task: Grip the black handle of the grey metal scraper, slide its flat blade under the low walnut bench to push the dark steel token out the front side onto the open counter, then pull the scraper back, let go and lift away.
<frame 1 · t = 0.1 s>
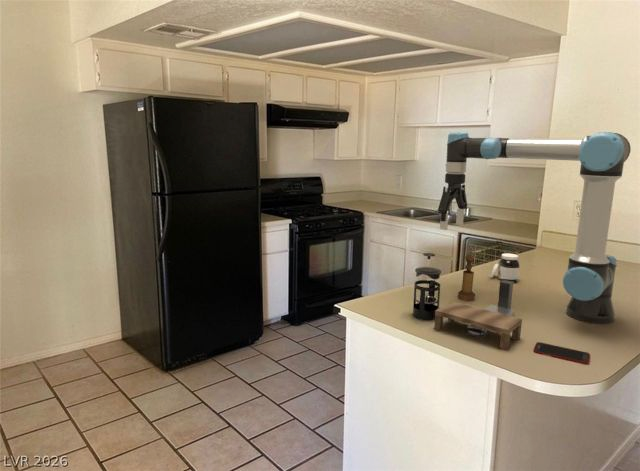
hand: (451, 227, 186), 28 cm above the counter, tool pointing down, fingers open, 13 cm apart
cell phone: (561, 355, 140), on the counter
spread jar: (502, 279, 213), on the counter
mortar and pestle: (466, 299, 187), on the counter
steel token: (476, 334, 154), on the counter
french press: (425, 315, 169), on the counter
low bench: (476, 333, 154), on the counter
scraper: (503, 313, 172), on the counter
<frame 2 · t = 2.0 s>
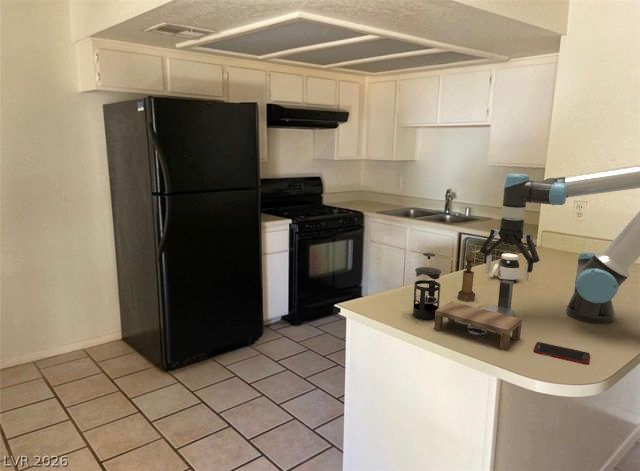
hand: (506, 276, 169), 14 cm above the counter, tool pointing down, fingers open, 13 cm apart
nothing on the counter moved.
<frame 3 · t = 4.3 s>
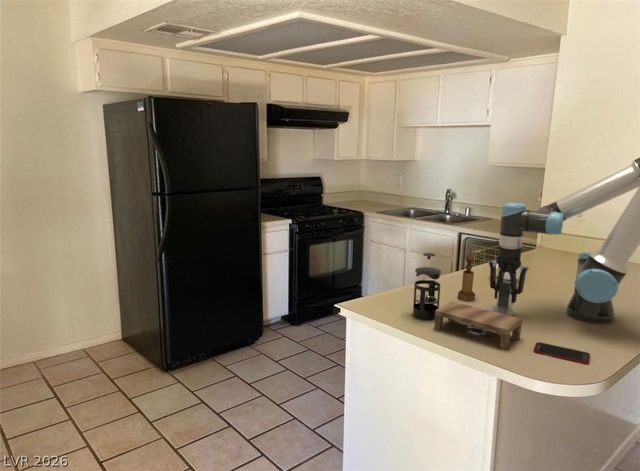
hand: (504, 309, 172), 2 cm above the counter, tool pointing down, fingers closed on scraper, 3 cm apart
scraper: (503, 313, 172), on the counter, touching gripper
everything else where it was.
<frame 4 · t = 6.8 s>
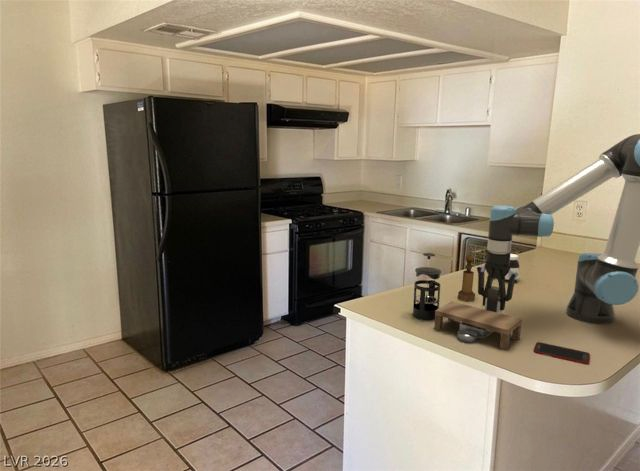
hand: (492, 316, 164), 2 cm above the counter, tool pointing down, fingers closed on scraper, 3 cm apart
steel token: (466, 339, 149), on the counter
scraper: (492, 320, 164), on the counter, touching gripper
everything else where it was.
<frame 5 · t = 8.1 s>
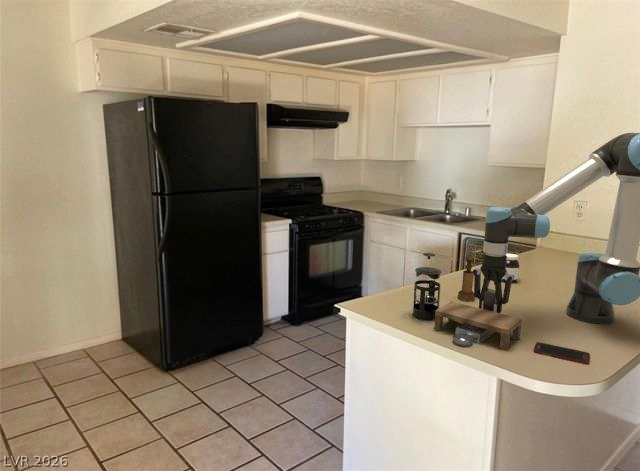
hand: (489, 319, 161), 2 cm above the counter, tool pointing down, fingers closed on scraper, 3 cm apart
steel token: (462, 343, 147), on the counter
scraper: (488, 324, 162), on the counter, touching gripper
everything else where it was.
when the fingers open (2 cm above the counter, at t = 10.3 s): scraper stays where it is, on the counter.
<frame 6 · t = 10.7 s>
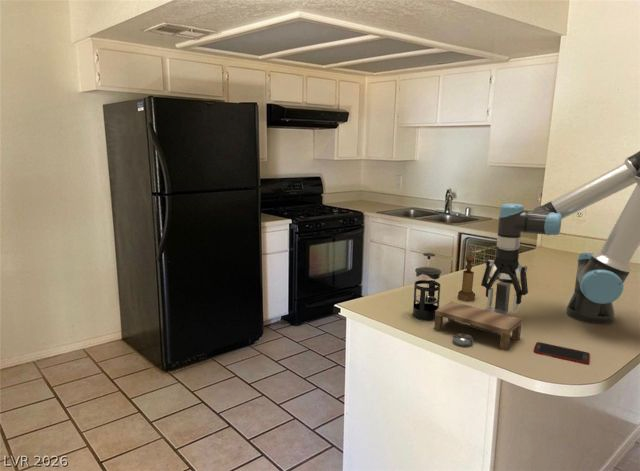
hand: (502, 308, 170), 2 cm above the counter, tool pointing down, fingers open, 8 cm apart
scraper: (500, 315, 170), on the counter
everything else where it was.
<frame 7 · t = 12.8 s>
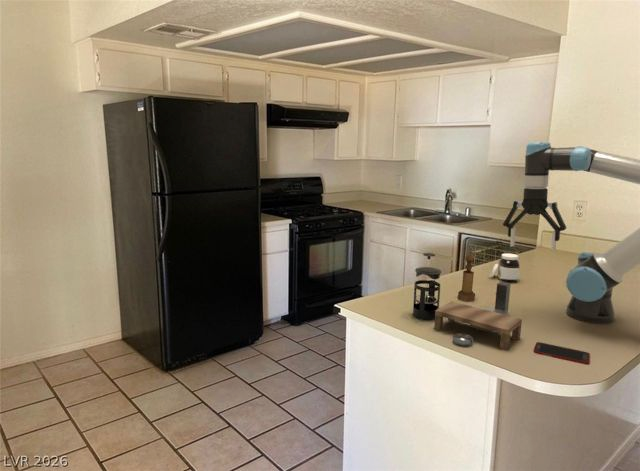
hand: (532, 248, 166), 25 cm above the counter, tool pointing down, fingers open, 13 cm apart
nothing on the counter moved.
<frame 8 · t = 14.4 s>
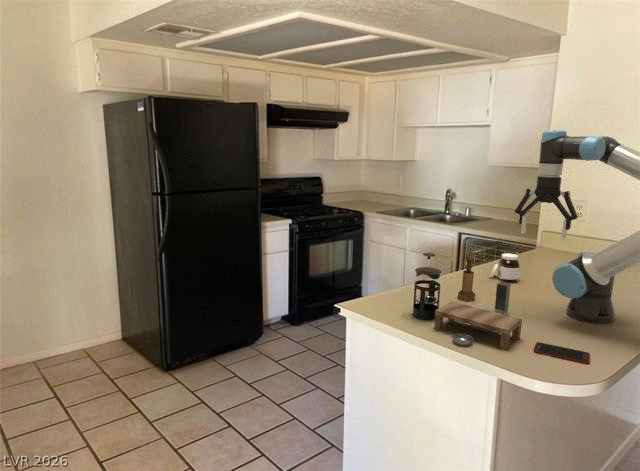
hand: (542, 236, 167), 29 cm above the counter, tool pointing down, fingers open, 13 cm apart
nothing on the counter moved.
at the end: steel token inside the target area (3.9 cm from its centre), on the counter; steel token touching counter; the gripper is holding nothing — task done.
